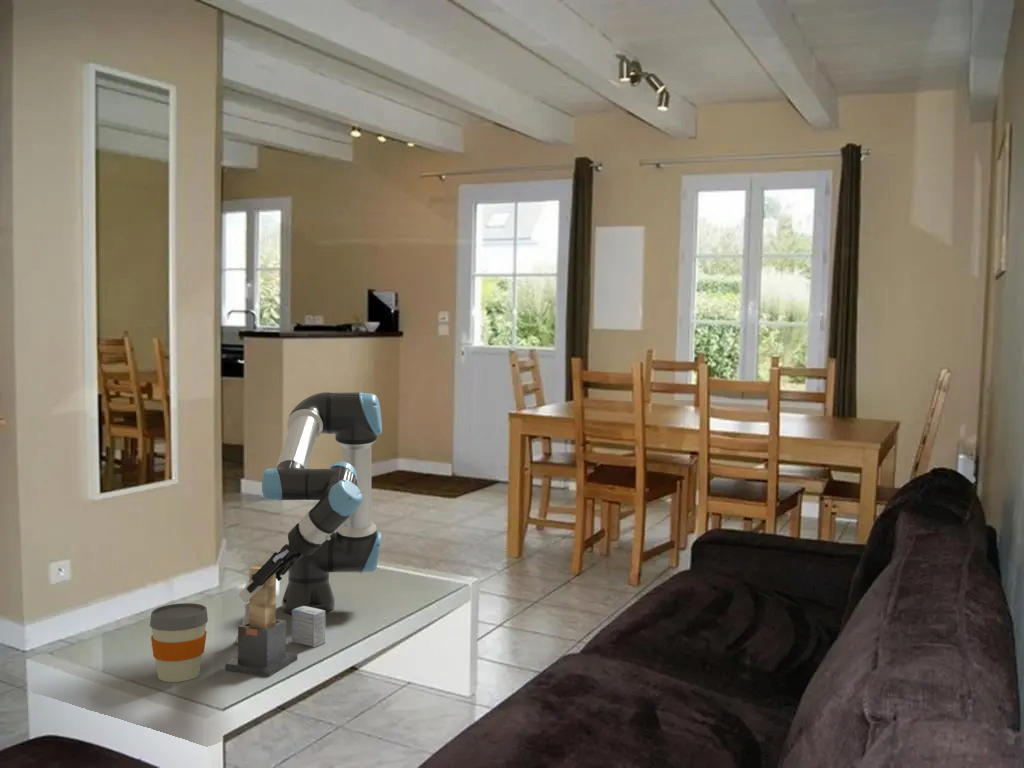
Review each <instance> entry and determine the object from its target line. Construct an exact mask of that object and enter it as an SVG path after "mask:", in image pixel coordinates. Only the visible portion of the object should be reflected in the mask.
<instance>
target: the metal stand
mask: <svg viewBox="0 0 1024 768" xmlns="http://www.w3.org/2000/svg"><path fill="white" fill-rule="evenodd" d="M237 636H238V644H237V657H234V658H233V659H232V660H229V661H227V662H226V663H224V665H225V666H224V668H225V671H229V672H230V671H231V672H238V673H245V674H250V675H258V676H264V677H271V676H273V675H274V674H276V673H278V672H279V671H281V670H283V669H284V668H286V667H288V666H289V665H291V664H292V663H294V662H295V661H298V653H295V652H288V651H287V620H285V619H276V621H275V624H274V625H272V626H270V627H268V628H258V627H251V626H249V621H248V622H246V623H244V624H240V625H237Z"/></svg>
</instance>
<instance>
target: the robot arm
mask: <svg viewBox="0 0 1024 768" xmlns="http://www.w3.org/2000/svg"><path fill="white" fill-rule="evenodd" d="M382 423H383V422H382V411H381V405H380V400H379V398H378V396H377V395H376V394H374V393H367V392H366V393H365V392H361V391H360V392H328V391H327V392H325V391H324V392H318V393H315V394H312V395H309V396H308V397H306V398H304V399H303V400H301V402H299V403H298V404H297V405H296V406H294V408H293V409H292V410H291V411H290V413H289V416H288V419H287V421H286V427H287V430H288V431H287V434H286V437H285V440H284V442H283V446H282V449H281V452H280V454H279V459H278V461H277V464H276V467H272V468H267V469H265V470H264V471H263V473H262V480H261V491H262V492H261V493H262V496H263V498H264V499H265V500H274V501H275V500H276V501H280V502H281V501H318V502H317V503H315V505H314V506H313V507H312V508H311V509H310V510H309V511H308V512H306V514H305V515H304V516H302V518H301V519H299V522H297V523H296V524H295V525H294V526H293V527H292V528H291V529H290V530H289V532H288V534H287V540H288V541H287V542H288V543H286V544H285V545H283V546H282V547H281V549H280V550H279V551H278V552H277V551H275V552H273V554H272V555H271V557H270V558H269V559H268V560H267V561H266V562H265V563H263V564H264V565H263V566H262V567H261V568H260V569H259V570H258V571H257V572H256V573H255V574H253V575H252V577H251V579H252V581H251V582H250V583H248V584H247V585H245V587H244V588H243V589H242V590H241V591H239V593H238V596H239V597H240V599H241V600H242V601H243V602H244V604H246V603H249V600H250V599H251V598H252V597H253V596H254V595H255V594H256V593H257V592H258V591H259V590H260V589H261V588H262V587H263V586H264V585H263V584H264V583H265V582H266V581H267V580H268V579H269V578H270V577H271V576H273V575H274V574H275V573H276V581H278V582H280V581H281V580H283V578H282V576H285V575H286V573H288V576H287V577H288V579H287V580H288V582H287V585H286V588H285V591H284V594H283V597H282V601H281V610H282V611H283V612H284V613H287V614H290V615H292V610H293V609H295V608H298V607H301V606H307V607H312V608H317V609H321V610H325V613H327V612H326V611H328V612H330V611H332V610H333V609H334V608H335V607H334V606H336V604H335V603H336V602H335V601H336V600H335V599H336V598H335V595H334V592H333V590H332V585H331V583H330V573H359V574H362V573H372V572H374V571H376V570H377V568H378V565H379V558H380V547H381V543H382V542H381V541H382V532H379V531H377V529H378V528H377V527H378V526H377V525H376V524H375V523H374V522H373V521H372V445H373V444H374V443H376V442H377V440H378V437H377V436H379V435H381V434H382V433H383V432H382V431H383V424H382ZM321 434H329V435H330V434H331V435H335V437H334V438H335V442H336V443H337V444H338V445H340V461H337V462H335V463H333V464H331V465H330V466H329V467H328V468H309V467H310V463H311V459H312V456H313V452H314V448H315V445H316V442H317V441H316V439H317V438H318V437H320V435H321ZM335 531H336V532H335ZM333 607H334V608H333ZM332 608H333V609H332ZM331 609H332V610H331ZM329 610H330V611H329Z"/></svg>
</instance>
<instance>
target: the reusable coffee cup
mask: <svg viewBox="0 0 1024 768" xmlns="http://www.w3.org/2000/svg"><path fill="white" fill-rule="evenodd" d="M208 620H209V618H208V610H207V606H206V605H203V604H201V603H200V604H199V603H192V602H191V603H190V602H185V603H184V602H182V603H173V604H167V605H161V606H160V607H157V608H155V609H153V610H151V613H150V620H149V621H150V622H149V627H151V632H152V633H151V634H152V635H151V636H150V641H151V647H152V656H153V658H154V659H155V663H156V670H157V677H158V679H159V680H160V681H163V682H167V683H175V682H176V683H177V682H185V681H190V680H191V679H192V680H193V679H194V678H196V677H198V676H199V675H200V670H201V662H202V655H203V654H204V652H205V647H206V641H207V631H206V627H207V623H208V622H209V621H208Z"/></svg>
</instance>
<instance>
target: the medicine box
mask: <svg viewBox="0 0 1024 768" xmlns="http://www.w3.org/2000/svg"><path fill="white" fill-rule="evenodd" d="M291 642H292V643H295V644H300V645H303V646H307V647H312V648H316V647H319V646H321V645H323V644H325V643H326V612H325V610H321V609H317V608H312V607H307V606H301V607H298V608H295V609H293V610H292V614H291Z"/></svg>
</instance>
